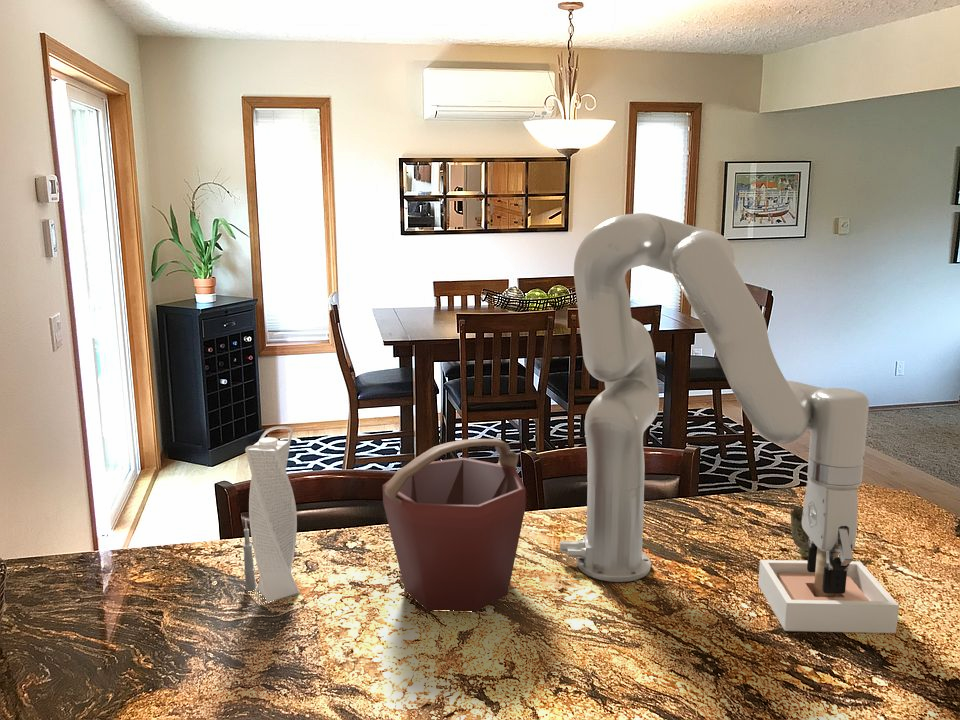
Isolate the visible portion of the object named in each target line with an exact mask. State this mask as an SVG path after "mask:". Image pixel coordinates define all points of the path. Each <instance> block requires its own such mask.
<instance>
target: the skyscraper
mask: <svg viewBox="0 0 960 720" xmlns="http://www.w3.org/2000/svg"><path fill="white" fill-rule="evenodd" d="M275 430H289V431H290V432H289V435H288V438H287V440H278V438H277V437H274V436H269V437H268V436H266V435H267V434H268V433H271V432H272V431H275ZM294 431H295V429H294V428H293V427H292V426H287V425H277V426H272V427H269V428H267V429H265V431H264V432H263V433H262V434H261V436H260V437H259V440H258V441H257V442H255V443H254V444H253V445H248V446H246V447H245V448H244V450H245V454H246V458H247V462H248V465H249V466H248V467H249V471H250V473H251V479H250V484H249V494H248V497H249V498H248V518H249V528H250V529H249V528H248V522H247V521H248V519H246V518H245V519H244V529H243V533H244V543H243V545H242V549H243V557H244V559H243V560H244V565H243V566H244V570H243V572H244V580H245V581H244V582H245V583H244V584H245V585H244V588H245V590H246V591H245V590H244V591H245V593H246V592H248V591H252V592H256V595H258V596H256V595H255V597H258V598H262V597H264V599H263V598H262V600H261V599H260V601H261V602H262V603H263V602H265V601H267V603H268V602H270V601H273V600H274V601H275V600H278V601H280V600H279V599H281V600H283V599H282V598H285V599H287V598H286V597H288V598H291V597H293V595H294V596H297V595H296V594H298V595H300V594H301V592H300V590H299V587H298V586H297V583H296V581H295V580H294V577H293V574H292V568H293V564H294V557H295V552H296V542H297V533H298V531H297V529H298V522H297V521H298V520H297V519H298V517H297V514H298V513H297V505H296V500H295V495H294V490H293V487H292V484H291V481H290V479H289V476H288V473H287V464H288V460H289V453H290V448H291V443H292V437H293V435H294ZM265 436H266V437H265ZM250 536H251V540H250ZM250 541H251V542H250ZM253 555H254V557H253ZM254 559H255V563H256V567H257V571H258V575H259V579H258V583H257V582H256V575H255V570H256V569H255V568H256V567H255V566H254ZM257 584H258V587H257V588H256V586H257ZM255 589H256V591H255ZM253 590H254V591H253ZM259 591H260V593H259ZM252 592H251V594H255V593H252ZM257 592H258V594H257ZM299 593H300V594H299ZM249 594H250V592H249ZM259 594H262V596H261V595H260V597H259ZM290 596H291V597H290ZM251 597H252V596H251ZM251 597H250V598H251ZM253 597H254V595H253ZM258 598H257V600H258V601H259V599H258ZM265 598H266V599H265ZM253 600H254V599H253ZM253 600H252V601H253ZM257 600H256V598H255V601H257ZM261 602H260V604H261ZM275 602H276V601H275ZM260 604H259V603H258V605H260ZM263 604H264V603H263ZM258 605H257V606H258ZM261 605H262V604H261ZM265 605H267V604H266V602H265ZM262 606H263V605H262Z"/></svg>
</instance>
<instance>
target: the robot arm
mask: <svg viewBox="0 0 960 720" xmlns="http://www.w3.org/2000/svg"><path fill="white" fill-rule="evenodd" d="M734 262H735V251H734V248H733V246H732V244H731V243H730V241H729V240H728V238H726V236H724V235H722V234H720V233H719V232H717V231H712V230H709V229H706V228H701V227H697V226H694V225H690V224H686V223H683V222H679V221H676V220H672V219H668V218H666V217H662V216H658V215H655V214H650V213H645V212H642V213H641V212H639V213H637V212H636V213H627V214H622V215H617V216H614V217H611V218H608V219H606V220H605V221H603V222H601V223H600V224H598V225H597V226H595V227H594V228H593V229H592V230H590V232H588V234H587V235H585V237H584V238H583V240H582V241H581V242H580V244H579V246H578V249H577V251H576V254H575V257H574V262H573V279H574V280H573V281H574V288H575V294H576V301H577V310H578V312H577V313H578V315H577V316H578V322H579V329H580V330H579V331H580V338H581V340H580V341H581V347H582V358H583V362H584V363H583V364H584V367H585V368H586V370H587V371H588V374H590V375H591V377H593V378H594V379H596V381H597V380H598V381H600V382H604V388H605V389H604V390H603V391H602V392H600V393H599V394H598V395H597V396H596V397H595V398H594V399H593V400H592V401H591V403H590V404H589V406H588V408H587V410H586V413H585V417H584V418H585V419H584V435H585V443H586V452H587V457H586V458H587V474H586V475H587V477H586V478H587V491H586V492H587V493H586V494H587V495H586V496H587V500H586V504H587V505H586V533H584V534H583V539H577V541H570V540H560V541H559V553H567V558H577V559H576V563H577V564H576V565H577V568H579V570H580V571H581V572H582V573H583V574H585V575H586V576H589V577H590V578H593V579H596V580H599V581H604V582H609V583H610V582H611V583H626V582H627V583H628V582H633V581H637V580H641V579H642V578H645V576H647V575H648V574H649V573H650V571H651V569H652V566H651V565H652V564H651V563H652V561H651V559H650V557H649V556H648V555H647V554H646V553H645V552H643V535H644V533H643V530H644V507H645V506H644V505H645V503H644V501H645V474H646V472H645V451H644V433H645V431H647V429H648V428H649V427H650V425H652V424H653V422H654V421H655V419H656V418H657V415H658V413H659V411H660V409H659V408H660V391H659V384H658V375H657V365H656V357H655V348H654V343H653V340H652V338H651V337H652V336H651V335H650V333H649V331H648V329H647V327H646V326H645V325H644V324H643V323H641V321H638V320H637V319H635V318H633V317H632V311H631V300H630V299H631V297H630V294H629V290H628V287H627V282H626V275H627V272H628V271H630V270H631V269H633V268H637V267H640V266H641V267H642V266H647V267H650V268H652V269H656V270H660V271H663V272H667V273H669V274H672V276H673V277H674V279H675V281H676V283H677V285H678V286H679V288H680V290H681V292H682V293H683V294H684V296H685V298H686V299H687V301H688V304H689V305H690V306H691V308H692V310H693V312H694V314H695V315H696V317H697V319H698V320H699V321H700V323H701V325H702V327H703V330H704V331H705V332H706V334H707V335H708V337H709V339H710V341H711V343H712V345H713V348H714V351H715V353H716V358H717V359H718V361H719V363H720V366H721V369H722V371H723V373H724V375H725V378H726V380H727V382H728V384H729V386H730V389H731V391H732V393H733V395H734V396H735V399H736V400H737V402H738V404H739V406H740V407H741V409H742V410H743V412H744V414H745V415H746V417H747V419H748V420H749V422H750V424H751V426H752V427H753V428H754V430H755V431H756V432H757V434H759V435H760V436H761V438H763V439H764V440H766V441H768V442H770V443H773V444H779V445H786V444H787V445H788V444H791V443H793V442H795V441H797V440H799V439H800V438H801V437H802V436H803V435H804V433H805V432H806V430H808V431H809V432H810V439H809V448H808V449H809V451H808V463H807V475H806V476H807V477H806V478H807V482H806V487H805V494H804V499H803V500H804V501H803V508H802V510H803V514H802V528H803V530H804V531H805V532H806V534H807V535H808V536H809V541H808V543H809V546H810V547H809V550H808V559H807V561H808V563H807V570H808V571H809V572H815V569H816V557H817V547H818V548H819V549H820V550H821V551H826V561H827V567H824V574H823V585H822V590H823V592H824V593H837V594H843V593H845V588H846V577H847V571H848V566H849V564H850V563H851V562H852V561H854V556H853V550H854V549H855V546H856V541H857V533H858V532H857V531H858V529H857V528H858V504H859V503H858V502H859V501H858V497H859V496H858V488H859V487H861V485H862V482H863V474H864V473H863V472H864V471H863V470H864V464H865V463H864V461H865V452H866V438H867V432H868V431H867V429H868V418H869V410H870V404H869V403H870V402H869V399H868V397H867V396H866V395H865V394H864V393H863V392H861V391H858V390H856V389H850V388H843V387H828V388H826V387H820V386H815V385H811V384H808V383H803V382H798V381H793V380H786V377H785V376H784V374H783V373H782V371H781V368H780V367H779V365H778V362H777V360H776V358H775V356H774V353H773V350H772V348H771V344H770V340H769V332H768V326H767V322H766V318H765V316H764V314H763V312H762V309H761V308H760V307H759V305H758V303H757V302H756V300H755V299H754V297H753V294H751V293H752V292H751V291H750V290H749V288H748V287H747V285H746V283H745V282H744V280H743V278H742V276H741V275H740V273H739V271H738V269H737V268H736V266H735V263H734ZM834 544H839V548H833V546H834ZM832 553H838V557H836V558H835V559H834V560H833V554H832Z"/></svg>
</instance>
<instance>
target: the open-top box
mask: <svg viewBox="0 0 960 720" xmlns="http://www.w3.org/2000/svg"><path fill="white" fill-rule="evenodd" d="M807 563H808V560H805V559H803V560H799V559H798V560H796V559H795V560H793V559H791V560H790V559H787V560H786V559H785V560H784V559H760V560H759V568H758V584H757V585H758V587H759V589H760V591H761V592H762V594H763V597H764V598H765V599H766V601H767V602H768V605H769V607H770V608H771V609H772V612H773V614H774V615H775V617H776V618H777V620H778V622H779V624H780V626H781V627H782V629H783V630H784V631H785V632H820V633H821V632H823V633H824V632H825V633H833V632H834V633H865V634H866V633H868V634H869V633H874V634H897V628H898V627H897V626H898V619H899V610H900V609H899V608H900V605H899V603H898V602H897V601H896V600H895V599H894V598H893V597H892V595H891V594H890V593H889V592H888V590H886V588H885V587H884V585H882V584H881V583H880V582H879V581H878V579H877V578H876V577H875V576H874V575H873V573H871V572H870V570H868V568H867V567H866V566H865V565H864V564H863V563H862V561H860V560H859V561H857V560H853V561H852V562H851V563H850V564H849V566H848V571H847V574H848V575H849V577H850V578H851V579H852V580H853V581H854V583H855V584H856V585H857V586H858V588H859V589H860V590H861V591H862V592H863V594H864V595H865V596H866V597H867V598H868V600H869V601H834V600H791V598H790V596H789V595H788V593H787V592H786V590H785V589H784V587H783V586H782V584H781V582H780V581H779V579H778V578H777V576H778V573H815V572H809V571H808V570H807Z"/></svg>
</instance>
